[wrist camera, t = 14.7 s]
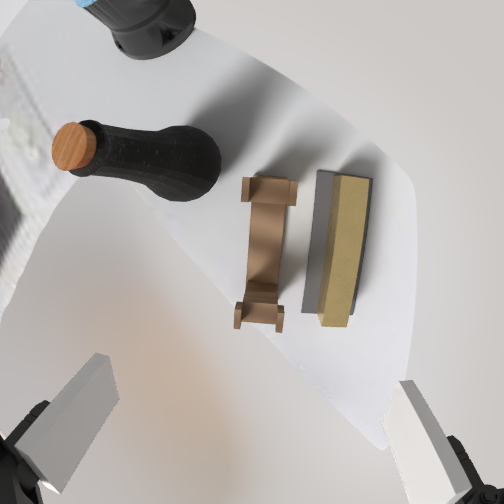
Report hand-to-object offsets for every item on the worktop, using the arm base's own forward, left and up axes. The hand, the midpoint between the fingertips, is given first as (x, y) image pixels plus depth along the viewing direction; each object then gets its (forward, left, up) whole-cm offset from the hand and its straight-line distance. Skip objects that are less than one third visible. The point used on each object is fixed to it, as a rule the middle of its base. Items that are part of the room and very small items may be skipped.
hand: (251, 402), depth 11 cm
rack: (0, 0, -35) cm, 35 cm away
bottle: (-11, -12, -35) cm, 39 cm away
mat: (0, +12, -35) cm, 37 cm away
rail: (0, +12, -34) cm, 36 cm away
